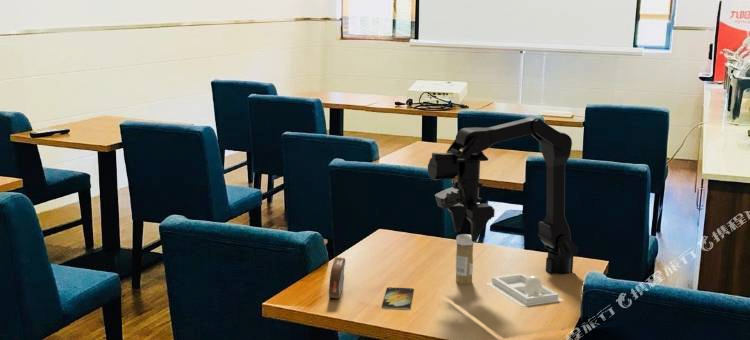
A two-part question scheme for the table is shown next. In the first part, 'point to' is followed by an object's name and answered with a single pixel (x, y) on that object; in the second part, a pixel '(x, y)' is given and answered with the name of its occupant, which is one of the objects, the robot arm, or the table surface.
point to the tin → (336, 278)
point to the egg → (533, 286)
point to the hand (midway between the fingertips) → (465, 236)
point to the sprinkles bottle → (464, 259)
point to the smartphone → (398, 298)
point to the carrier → (522, 290)
